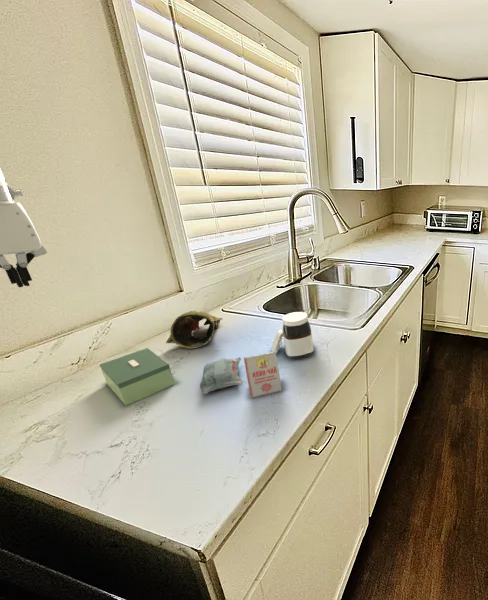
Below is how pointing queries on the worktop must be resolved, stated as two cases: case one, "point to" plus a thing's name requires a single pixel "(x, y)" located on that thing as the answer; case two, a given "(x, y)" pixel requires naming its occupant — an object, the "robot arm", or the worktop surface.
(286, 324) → the spread jar
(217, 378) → the packaged food
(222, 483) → the worktop surface
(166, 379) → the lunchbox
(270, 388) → the cream red carton
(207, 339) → the pot
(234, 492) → the worktop surface
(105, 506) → the worktop surface
